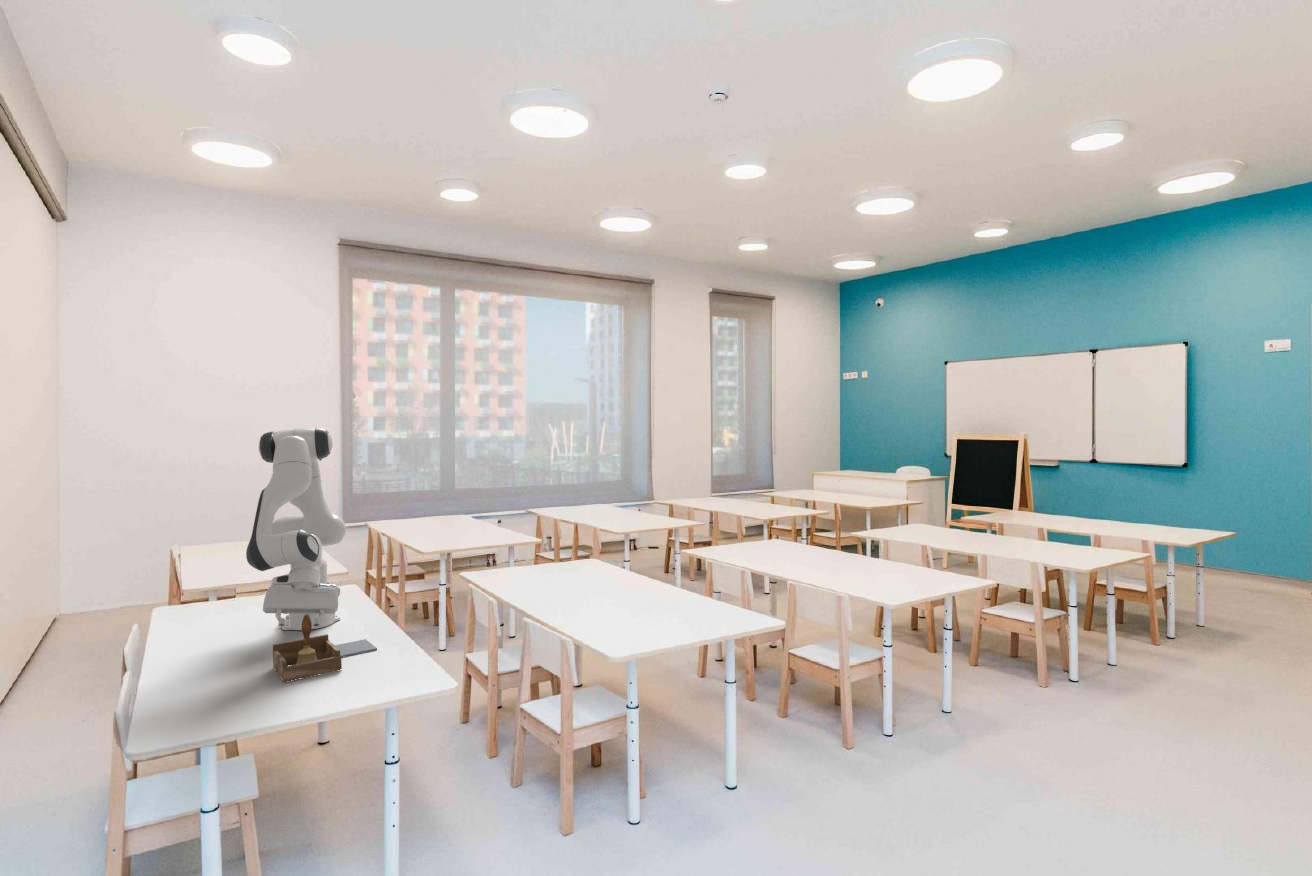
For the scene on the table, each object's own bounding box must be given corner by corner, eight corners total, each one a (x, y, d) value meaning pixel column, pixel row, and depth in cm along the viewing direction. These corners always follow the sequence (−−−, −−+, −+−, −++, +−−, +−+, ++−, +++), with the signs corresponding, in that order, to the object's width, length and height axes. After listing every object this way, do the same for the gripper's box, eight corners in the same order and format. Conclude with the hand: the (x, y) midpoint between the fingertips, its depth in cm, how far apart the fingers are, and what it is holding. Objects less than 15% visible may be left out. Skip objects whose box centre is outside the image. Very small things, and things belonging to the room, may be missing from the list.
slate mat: (326, 648, 225) (326, 647, 225) (365, 641, 232) (365, 639, 232) (336, 658, 215) (336, 656, 215) (377, 650, 223) (377, 648, 223)
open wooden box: (273, 668, 208) (272, 644, 208) (328, 656, 217) (327, 634, 217) (284, 682, 196) (283, 657, 196) (341, 670, 205) (340, 646, 205)
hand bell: (311, 662, 212) (310, 609, 212) (329, 667, 208) (327, 613, 208) (285, 671, 205) (283, 616, 205) (302, 676, 201) (300, 620, 200)
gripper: (339, 590, 224) (336, 630, 215) (265, 588, 215) (259, 630, 206) (341, 579, 220) (338, 620, 211) (266, 577, 211) (260, 620, 202)
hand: (299, 625), depth 209 cm, fingers open, 8 cm apart
